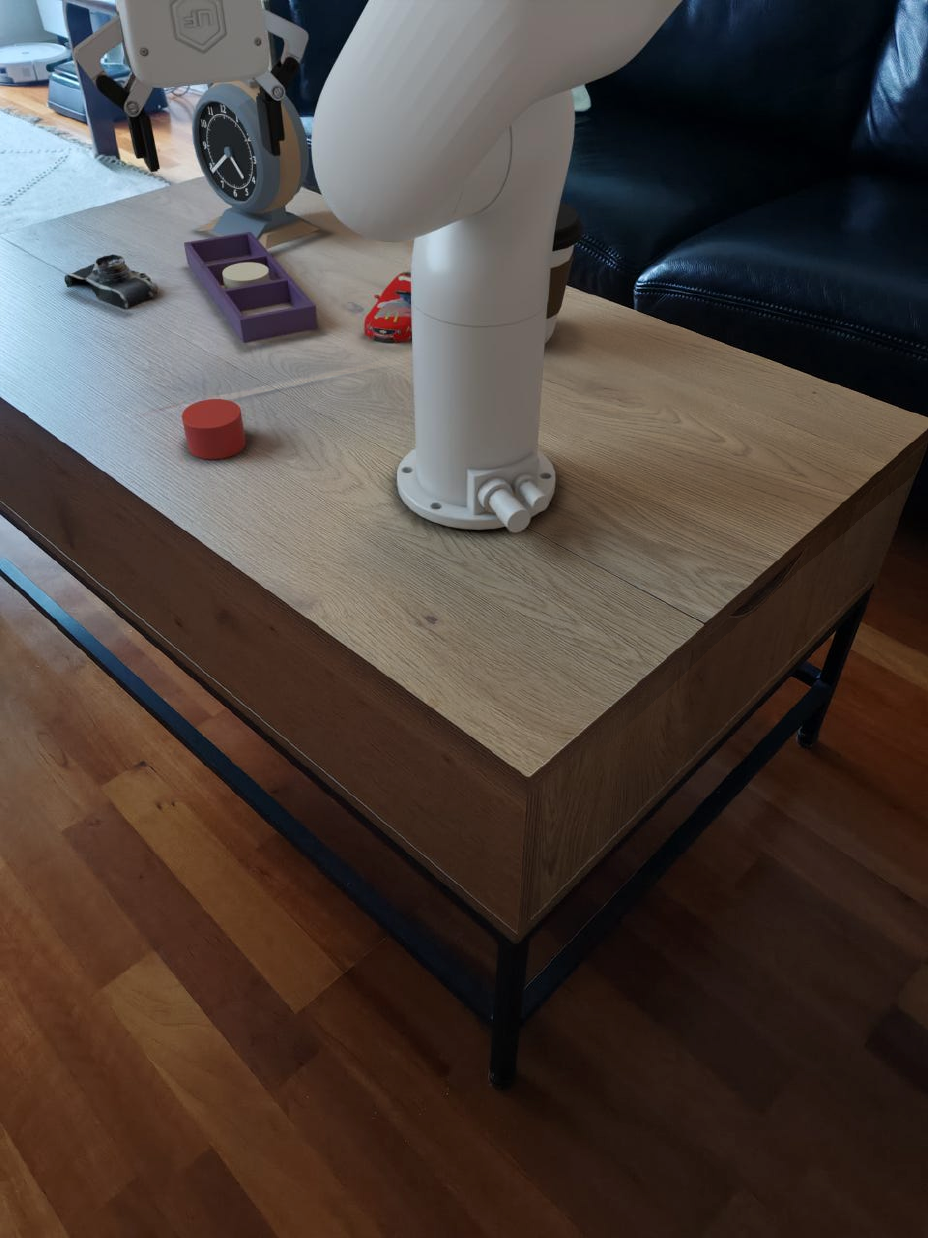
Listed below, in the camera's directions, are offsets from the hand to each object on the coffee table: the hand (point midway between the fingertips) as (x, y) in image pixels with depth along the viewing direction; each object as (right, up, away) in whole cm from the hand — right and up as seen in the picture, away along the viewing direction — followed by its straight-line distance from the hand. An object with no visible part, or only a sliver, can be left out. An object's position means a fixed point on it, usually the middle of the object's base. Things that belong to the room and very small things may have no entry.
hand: (213, 158), depth 77 cm
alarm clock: (-4, +10, +41) cm, 42 cm away
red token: (-1, -22, +5) cm, 22 cm away
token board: (-3, -3, +26) cm, 27 cm away
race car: (+14, -6, +23) cm, 27 cm away
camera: (-18, -2, +27) cm, 32 cm away
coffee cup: (+26, -8, +20) cm, 34 cm away
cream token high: (-3, -1, +25) cm, 25 cm away
